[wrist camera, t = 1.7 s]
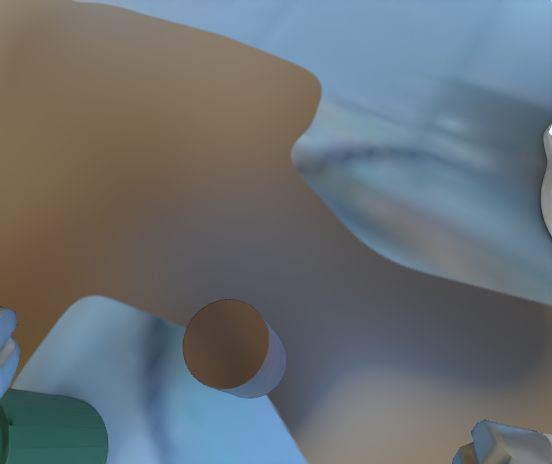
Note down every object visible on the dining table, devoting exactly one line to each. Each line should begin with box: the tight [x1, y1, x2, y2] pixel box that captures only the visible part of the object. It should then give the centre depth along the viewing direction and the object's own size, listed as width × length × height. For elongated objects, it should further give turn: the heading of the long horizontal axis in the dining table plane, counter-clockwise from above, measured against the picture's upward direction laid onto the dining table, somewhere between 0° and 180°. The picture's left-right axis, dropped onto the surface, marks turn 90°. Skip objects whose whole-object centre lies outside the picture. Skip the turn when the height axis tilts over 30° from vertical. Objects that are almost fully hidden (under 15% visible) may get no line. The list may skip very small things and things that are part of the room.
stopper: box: [183, 299, 287, 398], centre depth 35 cm, size 5×5×11 cm
